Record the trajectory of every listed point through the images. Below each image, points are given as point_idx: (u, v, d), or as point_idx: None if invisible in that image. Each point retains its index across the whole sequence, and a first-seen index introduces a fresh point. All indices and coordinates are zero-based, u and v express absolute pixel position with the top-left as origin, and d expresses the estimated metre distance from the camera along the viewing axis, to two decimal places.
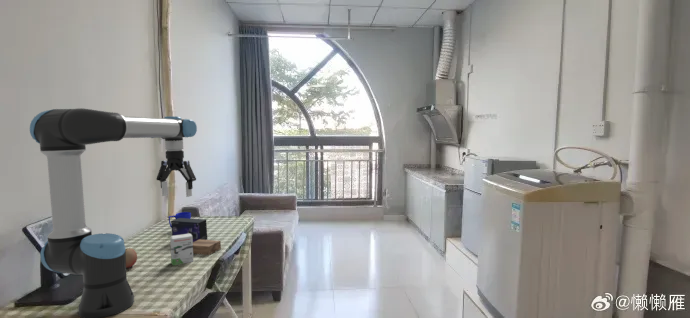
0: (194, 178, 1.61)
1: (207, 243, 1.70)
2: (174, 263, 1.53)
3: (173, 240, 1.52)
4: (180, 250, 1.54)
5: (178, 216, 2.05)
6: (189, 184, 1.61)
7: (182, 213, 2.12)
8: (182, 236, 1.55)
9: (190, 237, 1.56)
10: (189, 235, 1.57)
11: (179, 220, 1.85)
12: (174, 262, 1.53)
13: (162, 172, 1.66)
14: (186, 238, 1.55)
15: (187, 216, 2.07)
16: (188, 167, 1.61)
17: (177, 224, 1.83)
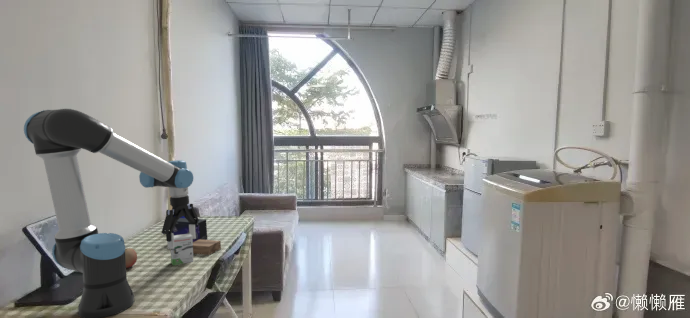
0: (164, 231, 1.46)
1: (207, 243, 1.70)
2: (174, 263, 1.53)
3: None
4: (180, 250, 1.54)
5: None
6: None
7: None
8: (182, 236, 1.55)
9: (190, 237, 1.56)
10: (189, 235, 1.57)
11: (179, 220, 1.85)
12: (174, 262, 1.53)
13: (191, 215, 1.63)
14: (186, 238, 1.55)
15: None
16: (167, 217, 1.48)
17: (177, 224, 1.83)
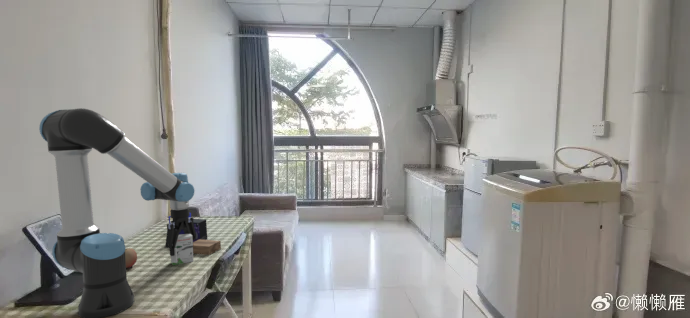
0: (168, 246, 1.48)
1: (207, 243, 1.70)
2: (174, 263, 1.53)
3: None
4: (180, 249, 1.54)
5: None
6: None
7: None
8: (182, 236, 1.55)
9: (190, 237, 1.56)
10: (189, 235, 1.56)
11: None
12: None
13: (190, 229, 1.62)
14: (186, 238, 1.55)
15: None
16: (168, 232, 1.49)
17: None
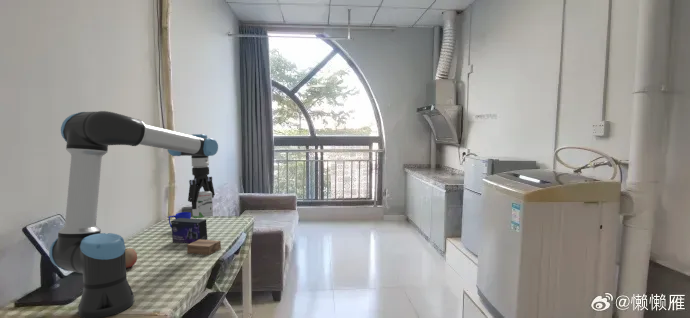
0: (190, 199, 1.61)
1: (207, 243, 1.70)
2: (196, 216, 1.66)
3: None
4: (201, 204, 1.67)
5: (178, 216, 2.05)
6: None
7: (182, 213, 2.12)
8: (202, 192, 1.69)
9: (210, 193, 1.69)
10: (208, 192, 1.70)
11: (179, 220, 1.85)
12: None
13: (209, 188, 1.75)
14: (206, 194, 1.68)
15: (187, 216, 2.07)
16: (191, 187, 1.62)
17: (177, 224, 1.83)
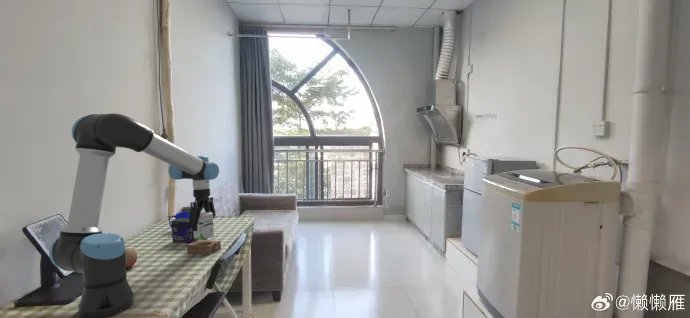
0: (192, 222, 1.62)
1: (207, 243, 1.70)
2: (197, 238, 1.67)
3: None
4: (202, 226, 1.68)
5: (178, 216, 2.05)
6: None
7: (182, 213, 2.12)
8: (203, 214, 1.69)
9: (211, 214, 1.70)
10: (209, 213, 1.70)
11: (179, 220, 1.85)
12: None
13: (210, 208, 1.76)
14: (207, 215, 1.69)
15: (187, 216, 2.07)
16: (192, 209, 1.63)
17: (177, 224, 1.83)
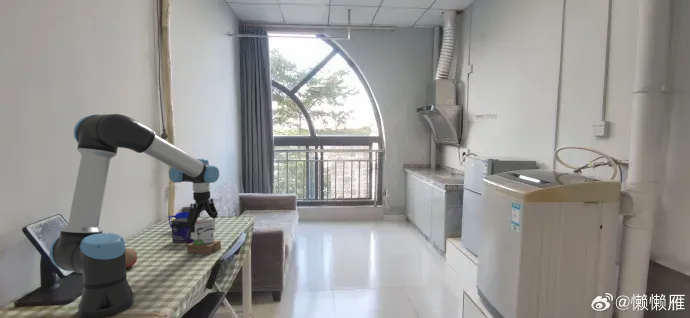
0: (189, 222, 1.60)
1: (207, 243, 1.70)
2: (197, 243, 1.67)
3: (196, 222, 1.66)
4: (202, 231, 1.68)
5: (178, 216, 2.05)
6: None
7: (182, 213, 2.12)
8: (204, 219, 1.70)
9: (211, 220, 1.70)
10: (210, 218, 1.71)
11: (179, 220, 1.85)
12: (197, 242, 1.67)
13: (211, 209, 1.77)
14: (207, 221, 1.69)
15: (187, 216, 2.07)
16: (191, 210, 1.62)
17: (177, 224, 1.83)
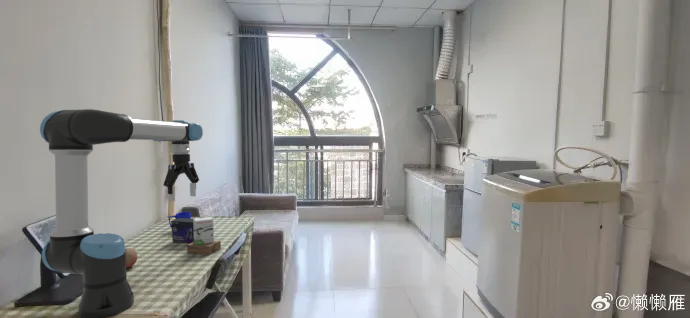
0: (166, 183, 1.57)
1: (207, 243, 1.70)
2: (197, 243, 1.67)
3: (196, 222, 1.66)
4: (202, 231, 1.68)
5: (178, 216, 2.05)
6: None
7: (182, 213, 2.12)
8: (204, 219, 1.70)
9: (211, 220, 1.70)
10: (210, 218, 1.71)
11: (179, 220, 1.85)
12: (197, 242, 1.67)
13: (192, 174, 1.73)
14: (207, 221, 1.69)
15: (187, 216, 2.07)
16: (169, 171, 1.59)
17: (177, 224, 1.83)
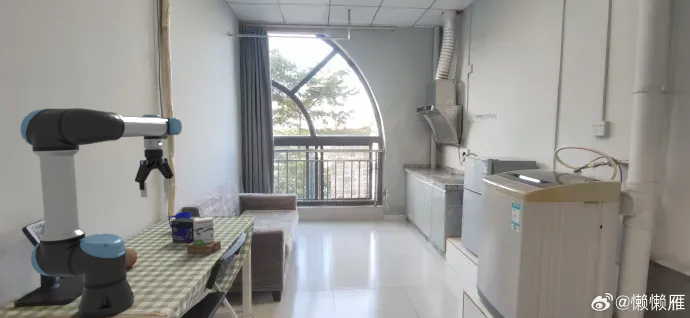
0: (137, 179, 1.54)
1: (207, 243, 1.70)
2: (197, 243, 1.67)
3: (196, 222, 1.66)
4: (202, 231, 1.68)
5: (178, 216, 2.05)
6: None
7: (182, 213, 2.12)
8: (204, 219, 1.70)
9: (211, 220, 1.70)
10: (210, 218, 1.71)
11: (179, 220, 1.85)
12: (197, 242, 1.67)
13: (166, 169, 1.70)
14: (207, 221, 1.69)
15: (187, 216, 2.07)
16: (140, 167, 1.56)
17: (177, 224, 1.83)
